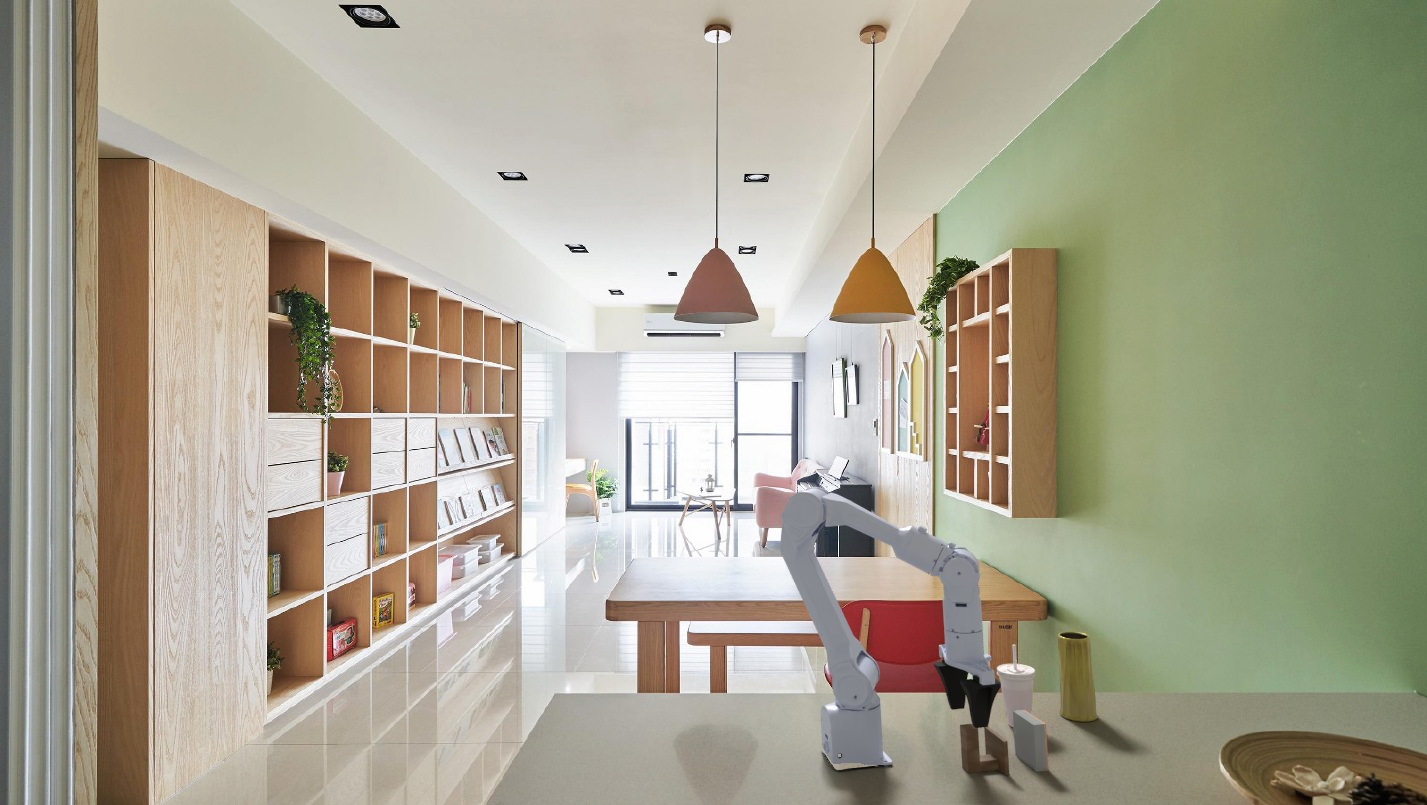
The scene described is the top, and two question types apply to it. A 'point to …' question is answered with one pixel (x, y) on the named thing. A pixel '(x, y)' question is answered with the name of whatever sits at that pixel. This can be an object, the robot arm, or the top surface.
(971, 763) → the u-shaped wooden bracket
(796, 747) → the top surface
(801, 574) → the robot arm
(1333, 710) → the top surface
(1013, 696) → the smoothie
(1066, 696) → the vase
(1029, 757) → the tile
